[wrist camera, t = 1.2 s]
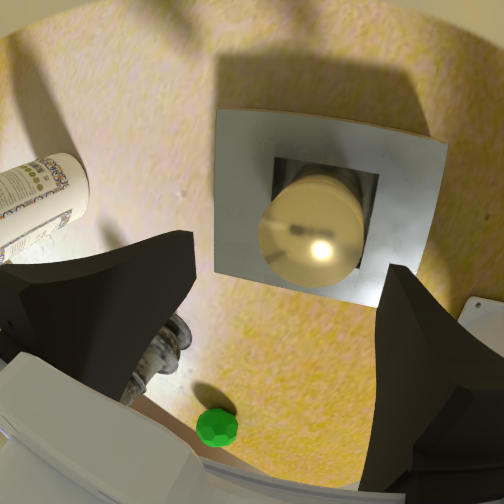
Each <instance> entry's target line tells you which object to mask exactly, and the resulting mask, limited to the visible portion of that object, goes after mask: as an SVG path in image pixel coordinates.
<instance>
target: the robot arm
mask: <svg viewBox="0 0 504 504" xmlns="http://www.w3.org/2000/svg"><path fill="white" fill-rule="evenodd" d="M196 278H197V277H196V265H195V252H194V238H193V232H190V231H183V230H176V231H171V232H167V233H164V234H161V235H158V236H155V237H152V238H149V239H146V240H143V241H140V242H137V243H134V244H131V245H128V246H125V247H122V248H118V249H115V250H112V251H109V252H105V253H102V254H98V255H93V256H89V257H85V258H80V259H74V260H68V261H62V262H53V263H42V264H4V265H1V266H0V328H1V331H0V431H1V432H2V433H3V434H4V435H5V436H6V437H7V438H8V439H9V441H8V442H7V443H6V444H5V446H4V447H3V448H2V449H1V450H0V504H504V302H499V301H494V300H490V299H485V298H480V297H475V296H472V297H470V298H469V299H468V300H467V302H466V304H465V306H464V308H463V310H462V312H461V315H460V317H459V319H458V321H456V320H455V319H454V318H453V317H452V316H451V315H450V314H449V313H448V312H447V311H446V310H445V309H444V308H443V307H442V306H441V305H440V304H439V303H438V302H437V300H436V299H435V298H434V297H433V296H432V295H431V294H430V293H429V291H428V290H427V289H426V288H425V287H424V286H423V284H422V283H421V282H420V281H419V280H418V278H417V277H416V276H415V275H414V274H413V273H412V271H411V270H410V269H409V268H408V267H407V266H404V265H398V264H392V263H389V267H388V271H387V275H386V278H385V282H384V286H383V290H382V293H381V297H380V300H379V304H378V307H377V310H376V322H375V355H376V402H375V410H374V417H373V424H372V430H371V436H370V442H369V447H368V452H367V456H366V461H365V465H364V470H363V474H362V477H361V481H360V485H359V488H358V491H352V490H343V489H335V488H327V487H321V486H314V485H308V484H303V483H297V482H292V481H287V480H283V479H278V478H274V477H269V476H265V475H261V474H257V473H253V472H249V471H246V470H242V469H239V468H235V467H232V466H228V465H225V464H222V463H219V462H215V461H212V460H210V459H207V458H204V457H201V456H198V455H196V454H195V452H194V451H193V450H192V448H191V447H190V446H189V445H188V444H187V443H186V442H184V441H183V440H182V439H180V438H179V437H177V436H176V435H175V434H173V433H172V432H171V431H170V430H168V429H167V428H166V427H164V426H163V425H161V424H159V423H157V422H155V421H153V420H151V419H150V418H148V417H146V416H144V415H142V414H141V413H139V412H137V411H135V410H134V409H131V408H129V407H127V406H125V405H123V404H121V403H119V401H120V399H121V397H122V395H123V393H124V391H125V388H126V386H127V384H128V382H129V380H130V378H131V376H132V374H133V373H134V371H135V369H136V367H137V365H138V363H139V361H140V360H141V358H142V356H143V355H144V353H145V351H146V350H147V348H148V346H149V345H150V343H151V342H152V340H153V339H154V337H155V336H156V335H157V333H158V332H159V331H160V330H161V328H162V327H163V326H164V325H165V323H166V322H167V321H168V320H169V318H170V317H171V316H172V315H173V313H174V312H175V311H176V309H177V308H178V307H179V306H180V304H181V303H182V302H183V300H184V299H185V298H186V296H187V294H188V293H189V291H190V289H191V288H192V286H193V284H194V282H195V280H196ZM477 303H479V305H476V304H477Z"/></svg>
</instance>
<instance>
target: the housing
mask: <svg viewBox="0 0 504 504" xmlns="http://www.w3.org/2000/svg"><path fill="white" fill-rule="evenodd" d="M447 150H448V144H446V143H444V142H442V141H439V140H437V139H435V138H432V137H430V136H426V135H422V134H418V133H414V132H410V131H405V130H401V129H396V128H392V127H387V126H382V125H377V124H372V123H367V122H361V121H356V120H350V119H344V118H337V117H330V116H323V115H316V114H308V113H299V112H290V111H279V110H267V109H253V108H231V109H217V114H216V144H215V191H214V272H216V273H220V274H224V275H229V276H233V277H237V278H242V279H246V280H250V281H255V282H259V283H264V284H268V285H272V286H277V287H281V288H286V289H291V290H295V291H300V292H304V293H309V294H314V295H318V296H323V297H328V298H332V299H337V300H342V301H347V302H352V303H357V304H362V305H366V306H371V307H376V308H377V307H378V304H379V300H380V297H381V293H382V290H383V286H384V282H385V278H386V275H387V271H388V267H389V263H392V264H398V265H404V266H407V267H408V268H409V269H410V270H411V271H412V273H413V274H414V275H415V276H416V273H417V270H418V267H419V264H420V261H421V258H422V254H423V251H424V248H425V245H426V241H427V238H428V234H429V231H430V227H431V223H432V220H433V216H434V212H435V208H436V204H437V199H438V195H439V191H440V186H441V182H442V177H443V172H444V167H445V162H446V156H447ZM313 163H320V164H326V165H332V166H338V167H344V168H346V169H347V170H349V171H350V172H351V173H352V174H353V175H354V176H355V177H356V179H357V181H358V182H359V184H360V186H361V190H362V194H363V228H364V244H363V252H362V255H361V258H360V260H359V262H358V264H357V266H356V267H355V269H354V270H353V271H352V272H351V273H350V274H349V275H348V276H347V277H346V278H345V279H343V280H341V281H340V282H338V283H336V284H333V285H330V286H326V287H319V288H309V287H303V286H299V285H296V284H293V283H291V282H289V281H287V280H285V279H283V278H282V277H280V276H279V275H278V274H277V273H275V272H274V271H273V270H272V268H271V267H270V266H269V265H268V263H267V262H266V261H265V259H264V257H263V255H262V252H261V250H260V246H259V241H258V228H259V223H260V220H261V217H262V215H263V213H264V212H265V210H266V208H267V207H268V206H269V205H270V204H271V203H272V201H273V200H274V199H275V198H276V197H277V196H278V195H279V194H280V193H281V191H282V190H283V189H284V188H285V187H286V186H287V185H288V184H289V182H290V181H291V180H292V179H293V178H294V177H295V176H296V175H297V174H298V172H299V171H301V170H302V169H303V168H305V167H306V166H308V165H310V164H313Z"/></svg>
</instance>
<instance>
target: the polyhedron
mask: <svg viewBox="0 0 504 504" xmlns="http://www.w3.org/2000/svg"><path fill="white" fill-rule="evenodd" d="M237 429H238V422H237V420H236V418H235V416H233V415H232V414H231V413H229V412H227V411H225V410H223V409H220V408H216V409H209V410H206V411H205V412H204V413H203V414H201V415H200V416H199V418H198V421H197V426H196V432H197V434H198V436H199V438H200V440H201V441H202V442H203V443H205V444H207V445H209V446H210V447H221V446H228V445H230V444H231V443H232V442H233V441H234V440H235V439H236V434H237Z"/></svg>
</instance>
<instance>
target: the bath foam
mask: <svg viewBox="0 0 504 504" xmlns="http://www.w3.org/2000/svg"><path fill="white" fill-rule="evenodd" d="M88 200H89V187H88V182H87V178H86V175H85V172H84V170H83V168H82V166H81V165H80V163H79V162H78V161H77V160H76V159H75V158H74V157H73V156H71V155H70V154H67V153H57V154H54V155H50V156H47V157H44V158H41V159H38V160H35V161H32V162H29V163H26V164H24V165H21V166H18V167H16V168H13V169H10V170H8V171H5V172H3V173H0V264H2V263H3V262H5V261H6V260H8V259H10V258H11V257H13V256H14V255H16V254H17V253H19V252H21V251H22V250H24V249H26V248H27V247H29V246H31V245H32V244H34V243H36V242H37V241H39V240H41V239H42V238H44V237H46V236H47V235H49V234H51V233H53V232H54V231H56V230H58V229H60V228H62V227H63V226H65V225H67V224H68V223H70V222H72V221H74V220H76V219H77V218H79V217H80V216H81V215H82V214H83V213H84V212H85V210H86V208H87V205H88Z"/></svg>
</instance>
